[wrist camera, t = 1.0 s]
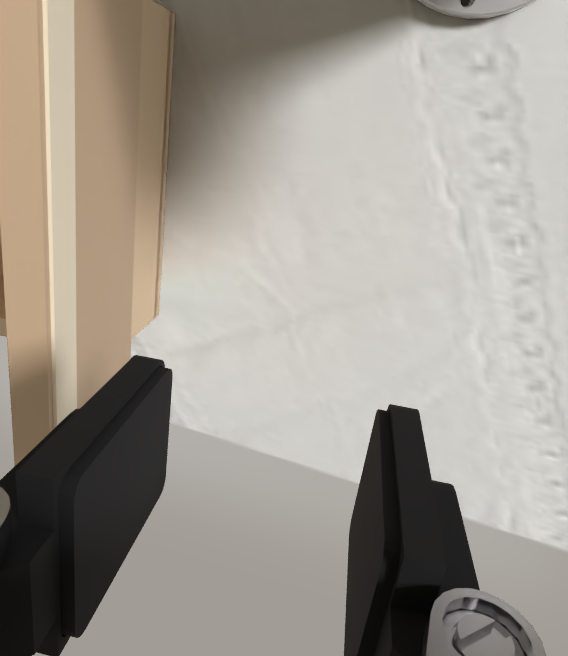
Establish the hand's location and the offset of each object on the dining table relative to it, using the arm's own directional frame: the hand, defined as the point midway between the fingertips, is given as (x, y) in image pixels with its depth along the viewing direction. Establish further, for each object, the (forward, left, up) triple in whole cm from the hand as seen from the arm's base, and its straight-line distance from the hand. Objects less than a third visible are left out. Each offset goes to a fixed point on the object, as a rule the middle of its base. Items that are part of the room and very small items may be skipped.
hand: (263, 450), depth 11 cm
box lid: (-1, -10, -11) cm, 15 cm away
